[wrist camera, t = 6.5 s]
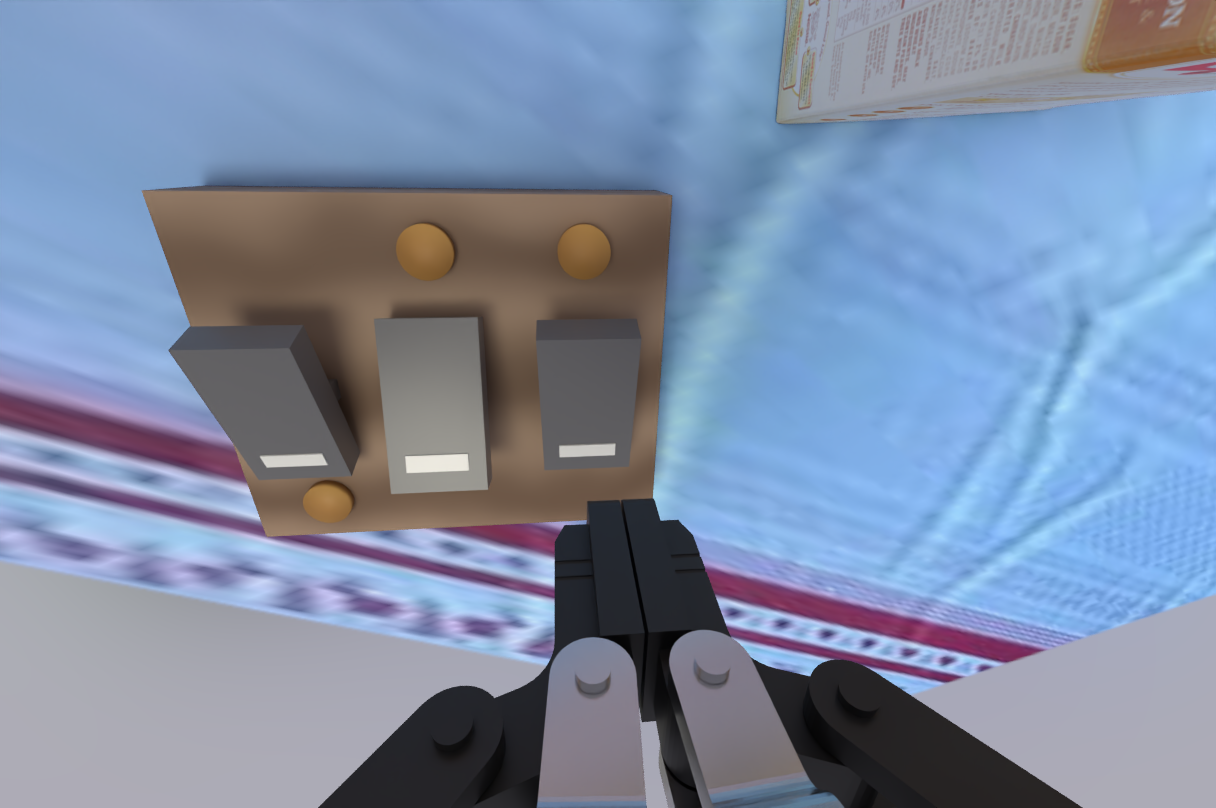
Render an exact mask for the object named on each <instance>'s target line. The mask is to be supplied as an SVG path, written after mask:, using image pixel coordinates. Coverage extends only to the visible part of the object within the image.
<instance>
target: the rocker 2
mask: <svg viewBox="0 0 1216 808" xmlns="http://www.w3.org/2000/svg"><path fill="white" fill-rule="evenodd" d="M374 326H375V336H376V346H377V356H378V366H379V376H380V386H381V396H382V407H383V417H384V427H385V437H386V447H387V457H388V467H389V477H390V487H391V494H403V493H425V492H447V491H469V490H488V488H489V485H490V483H491V480H492V466H491V449H490V432H489V415H488V398H487V380H486V363H485V346H484V329H483V317H424V318H379V319H374Z"/></svg>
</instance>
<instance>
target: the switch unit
mask: <svg viewBox="0 0 1216 808" xmlns="http://www.w3.org/2000/svg"><path fill="white" fill-rule="evenodd" d="M142 193H143V196H144V198H145V201H146V204H147V207H148V209H149V212H150V215H151V218H152V221H153V223H154V226H155V229H156V232H157V234H158V237H159V240H160V243H161V245H162V248H163V251H164V254H165V257H166V259H167V262H168V265H169V268H170V270H171V273H172V276H173V279H174V281H175V284H176V287H177V290H178V292H179V295H180V298H181V301H182V304H183V306H184V309H185V312H186V315H187V317H188V320H189V323H190V326H191V327H192V326H261V325H304V327H305V330H306V332H307V334H308V336H309V338H310V341H311V343H312V345H313V347H314V350H315V352H316V354H317V356H318V359H319V361H320V363H321V365H322V368H323V370H324V372H325V374H326V376H327V379H328V381H329V383H330V385H331V388H332V390H333V392H334V394H335V397H336V399H337V401H338V403H339V406H340V408H341V410H342V412H343V414H344V417H345V419H346V421H347V423H348V426H349V428H350V430H351V432H352V435H353V437H354V439H355V441H356V444H357V446H358V448H359V450H360V454H359V457H358V460H357V463H356V466H355V469H354V471H353V474H352V476H345V477H321V478H297V479H273V480H258V478H257V477H256V475H255V474H254V473H253V471H252V470H251V468H250V467H249V465H248V464H247V462H246V461H245V460H244V458H243V457H242V455H241V454H240V452H239V451H238V450H237V448H236V447H235V445H234V444H233V445H234V447H235V450H236V453H237V456H238V458H239V461H240V464H241V467H242V470H243V472H244V475H245V478H246V481H247V483H248V486H249V489H250V492H251V494H252V497H253V500H254V503H255V505H256V508H257V511H258V514H259V517H260V519H261V522H262V525H263V528H264V530H265V533H266V536H267V537H269V536H288V535H307V534H327V533H346V532H365V531H384V530H404V529H423V528H442V527H462V526H481V525H500V524H520V523H539V522H558V521H577V520H587V501H602V500H619V501H620V502H621V500H623V499H646V498H653V485H654V469H655V454H656V439H657V423H658V408H659V392H660V377H661V362H662V346H663V331H664V315H665V300H666V285H667V269H668V254H669V239H670V223H671V208H672V195H669V194H666V193H663V192H660V191H656V190H565V189H466V188H366V187H267V186H195V187H182V188H169V189H156V190H143V191H142ZM424 317H483V329H484V346H485V363H486V380H487V398H488V415H489V432H490V449H491V466H492V480H491V483H490V485H489V488H488V490H469V491H447V492H425V493H403V494H391V487H390V477H389V467H388V457H387V447H386V437H385V427H384V417H383V407H382V396H381V386H380V376H379V366H378V356H377V346H376V336H375V326H374V319H379V318H424ZM572 319H637V323H638V327H639V331H640V335H641V349H640V359H639V369H638V380H637V390H636V400H635V410H634V420H633V430H632V441H631V451H630V461H629V467H611V468H587V469H564V470H544V455H543V440H542V424H541V409H540V394H539V379H538V363H537V348H536V324H537V320H572Z"/></svg>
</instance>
